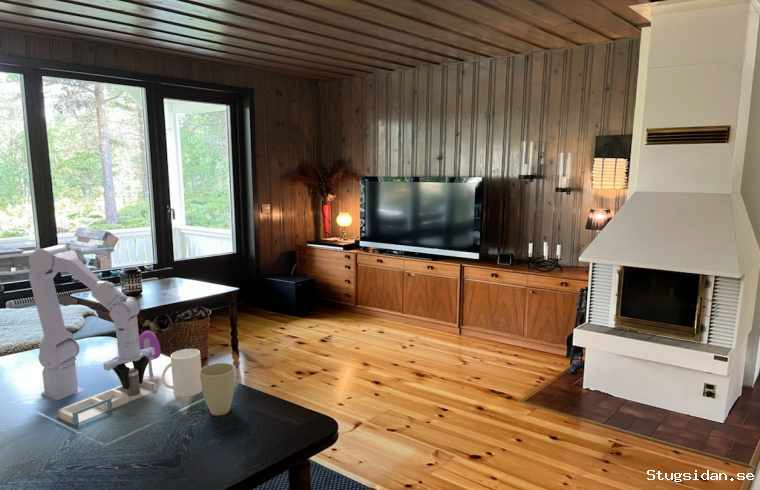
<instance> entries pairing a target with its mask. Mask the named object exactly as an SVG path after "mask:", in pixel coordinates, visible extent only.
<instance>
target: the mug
mask: <svg viewBox="0 0 760 490" xmlns="http://www.w3.org/2000/svg"><path fill="white" fill-rule="evenodd" d="M201 359H202V358H201V351H200V350H199V349H197V348H184V349H180V350H176V351H174V352H172V353H171V354H170V362H169V363H168V364H167V365H166V366H165V367H164V369H163V372H162V374H161V380H162V383H163V385H164V386H165V387H166V388H168V389H170V390H172V391H173V395H174V396H175V397H178V398H179V397H180V398H187V397H192V396H196V395H198V394H200V393H203V391H202V386H201V379H200V370H201V369H202V360H201ZM169 368H171V373H172V374H171V376H172V385H169V384H167V382H166V381H165V374H166V372H167V370H168V369H169Z"/></svg>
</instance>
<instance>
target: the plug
mask: <svg viewBox="0 0 760 490" xmlns="http://www.w3.org/2000/svg"><path fill="white" fill-rule="evenodd" d="M129 368H130V367H129ZM138 373H139V372H138V369H137V368H134V367H131V368H130V369H129V389H126V393H127V395H128V396H135V395H138V394H139V393H140V384H139V374H138Z"/></svg>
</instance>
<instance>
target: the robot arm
mask: <svg viewBox="0 0 760 490" xmlns="http://www.w3.org/2000/svg"><path fill="white" fill-rule="evenodd" d="M27 260H28V264H29V273H28V278H29V284H30V286H31V290H32V295H33V299H34V301H35V306H36V309H37V310H36V311H37V314H38V317H39V321H40V325H41V329H42V332H43V333H42V334H43V337H42V339H41V341H40V343H38V349H39V352H38V353H39V354H38V361H39V364H40V365H41V366H42V367H43V369H42V380H43V388H44V389H43V390H44V391H42V392H41V393H40V394H41V395H42V396H45V397H49V398H51V399H53V400H55V401H56V400H57V401H59V400H62V399H65V398H66V397H70V396H72V395H75V394H77V393H80V392H82V391H85V389H84V388H81V387H79V384H78V376H77V366H76V361H77V356H78V355H79V354H80V345H79V343H78V342H77V341H76V339H75V336H74V334H73V333H72V332H70V331H68V330H67V329H66V325H65V322H64V318H63V313H62V310H61V306H60V302H59V298H58V294H57V290H56V286H55V281H54V278H55V277H56V275H57V274H58V273H68V274H70V275H71V276H72V277H74V278H75V279H76V280H78V281H79V282H80V283H82V284H83V285H85V287H87V288H89V289H90V290H91V291H90V292H91V293H90V294H91V297H92V298H93V299H95V300H96V301H97V302H98V303H99V304H101V306H103V307H105V309H106V310H108V311H109V314H108V315H109V317H110V319H111V320H112V321H113V323H114V327H115V333H116V334H115V335H116V343H117V352H118V353H117V354H118V355H117V356H116V357H114V358H112V359H110V360H107V361H105V362H103V370H104V371H107V372H108V371H111V370H113V372H114V373H115V374H116V375H117V377H118V380H119V381H120V384H121V385H122V387H123V388H124V389H129V369H130V367H129V366H127V365H126V364H128V363H132V366H133V368H137V369H138V372H139V373H138V374H139V384H142V382H143V379H144V375H145V373H146V369H147V366H149V359H148V358H146V356H149V355H154V354H155V350H154V348H152V347H149V348H146V349H141V350H140V343H139V338H140V333H139V324H138V315H139V313H140V311H141V304H140V303H139V301H138V300H137V299H136V297H133V296H127V295H126V294H124V293H123V292H121V291H120V290H119V289H118V288H117V287H116V286H115V284H114V283H113V282H112V281H111V282H110V281H109V280H101V279H100V278H99V277H98V276H97V275H96V274H95V273H94V272H93V271H92V270H91V269H89V267H87V265H86V264H84V262H83V261H82V260H81V259H79V257H78V254H77V252H76V251H74V250H73V249H72V248H71V247H70V246H69V245H68V244H65V243H59V244H56V245H53V246H48V247H45V248H38V249H36V250H33V251H32V253H31V254H30V256H29V257H28V258H27Z"/></svg>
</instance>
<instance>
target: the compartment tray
mask: <svg viewBox="0 0 760 490" xmlns="http://www.w3.org/2000/svg"><path fill="white" fill-rule="evenodd" d="M156 391H158V385H157V382H153V381H151V380H147V379H145V378H143V382H142V384H140V393H139V394H138V395H135V396H128V395H127V393H126V389H124V388H123V387H122V384H121V385H118V386H116V387H113V388H111V389H108V390H106V391H103V392H101V393H97V394H95V395H93V396H90V397H87V398H84V399H82V400H79V401H75V403H72V404H69V405H66V406H63V407H61V408H59V409H57V410H56V411H57V417H58V418H59V419H61V420H64V421H66V422H68V423H69V424H72V425H73V426H76V425H77V426H78V425H79V424H80V423H82V422H83V421H86V420H89V419H91V418H94V417H96V416H99V415H100V414H101V415H102V414H104V413H106V412H111V411H113V409H115V408H118V407H120V406H122V405H125V404H128V403H129V402H131V401H135V400H138V399H139V398H142V397H144V396H146V395H149V394H151V393H154V392H156Z"/></svg>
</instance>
